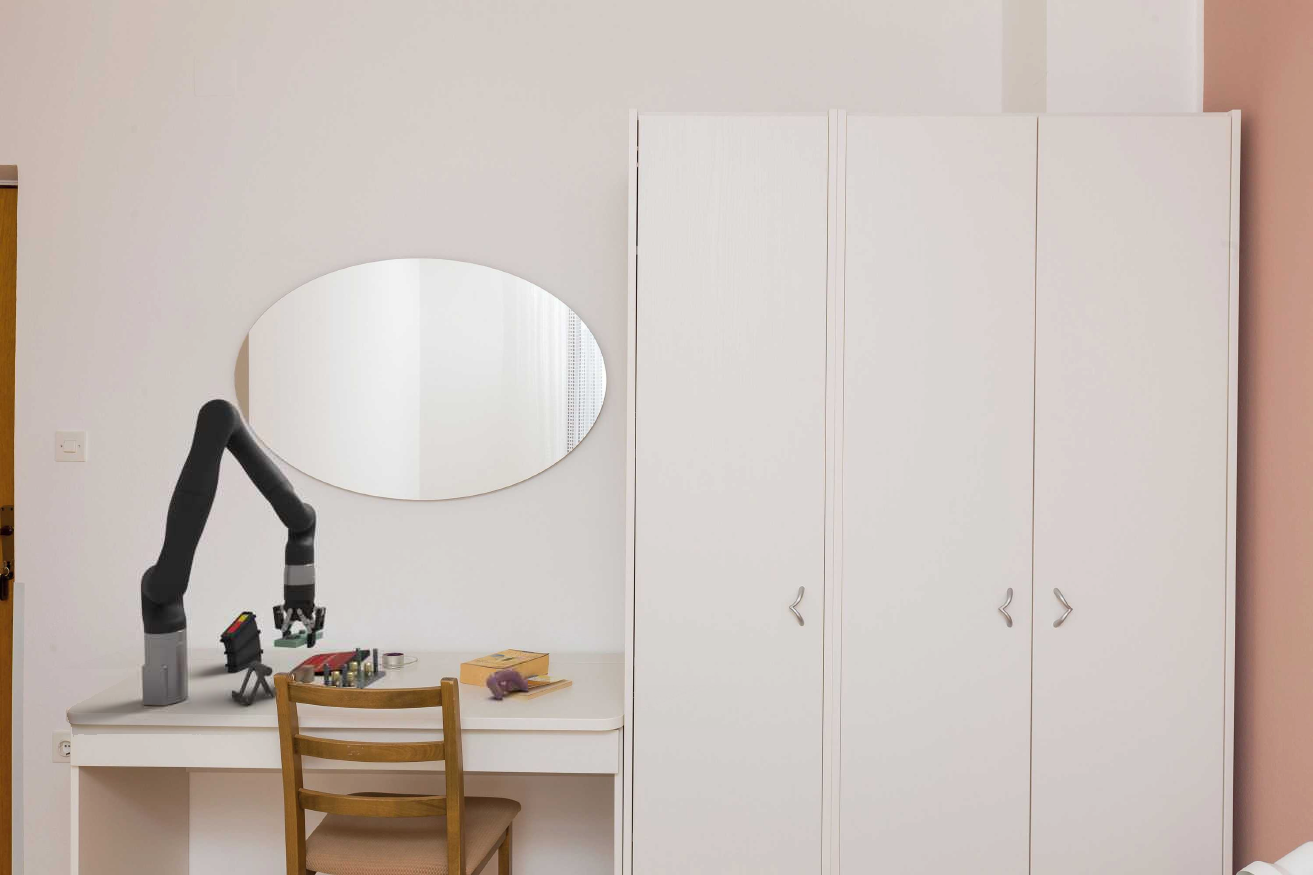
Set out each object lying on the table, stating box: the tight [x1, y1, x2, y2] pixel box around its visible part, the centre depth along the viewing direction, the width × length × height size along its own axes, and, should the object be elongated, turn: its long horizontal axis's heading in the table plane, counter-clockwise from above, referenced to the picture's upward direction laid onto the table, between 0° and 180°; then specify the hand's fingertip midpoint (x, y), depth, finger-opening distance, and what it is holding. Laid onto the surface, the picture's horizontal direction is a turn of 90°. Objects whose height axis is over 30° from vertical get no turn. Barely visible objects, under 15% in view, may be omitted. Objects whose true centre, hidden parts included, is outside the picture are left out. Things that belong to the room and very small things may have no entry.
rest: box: [288, 665, 315, 684], centre depth 237 cm, size 8×2×4 cm, turn 169°
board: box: [273, 629, 324, 649], centre depth 236 cm, size 12×6×2 cm, turn 168°
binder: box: [291, 649, 371, 677], centre depth 255 cm, size 16×2×21 cm
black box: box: [219, 610, 264, 673], centre depth 254 cm, size 4×13×15 cm, turn 168°
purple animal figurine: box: [485, 668, 529, 700], centre depth 227 cm, size 10×5×7 cm, turn 141°
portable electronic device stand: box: [231, 661, 275, 707], centre depth 225 cm, size 9×8×8 cm
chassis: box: [322, 647, 387, 689], centre depth 237 cm, size 17×10×7 cm, turn 169°
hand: (299, 646), depth 236 cm, fingers closed on board, 6 cm apart
